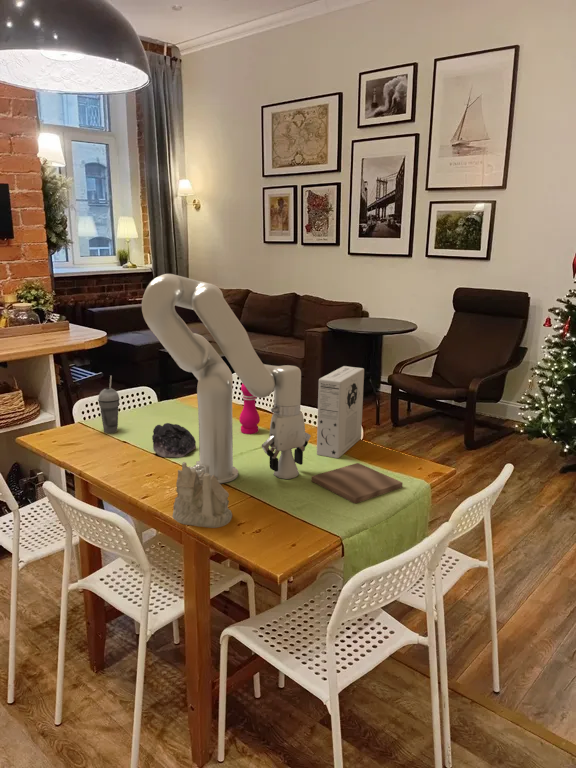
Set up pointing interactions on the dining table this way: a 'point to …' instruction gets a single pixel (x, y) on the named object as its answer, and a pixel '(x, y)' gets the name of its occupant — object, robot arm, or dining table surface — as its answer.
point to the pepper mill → (249, 413)
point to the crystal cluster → (172, 440)
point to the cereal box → (339, 411)
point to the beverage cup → (109, 408)
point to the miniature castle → (200, 500)
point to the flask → (286, 466)
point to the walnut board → (356, 482)
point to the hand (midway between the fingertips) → (286, 466)
